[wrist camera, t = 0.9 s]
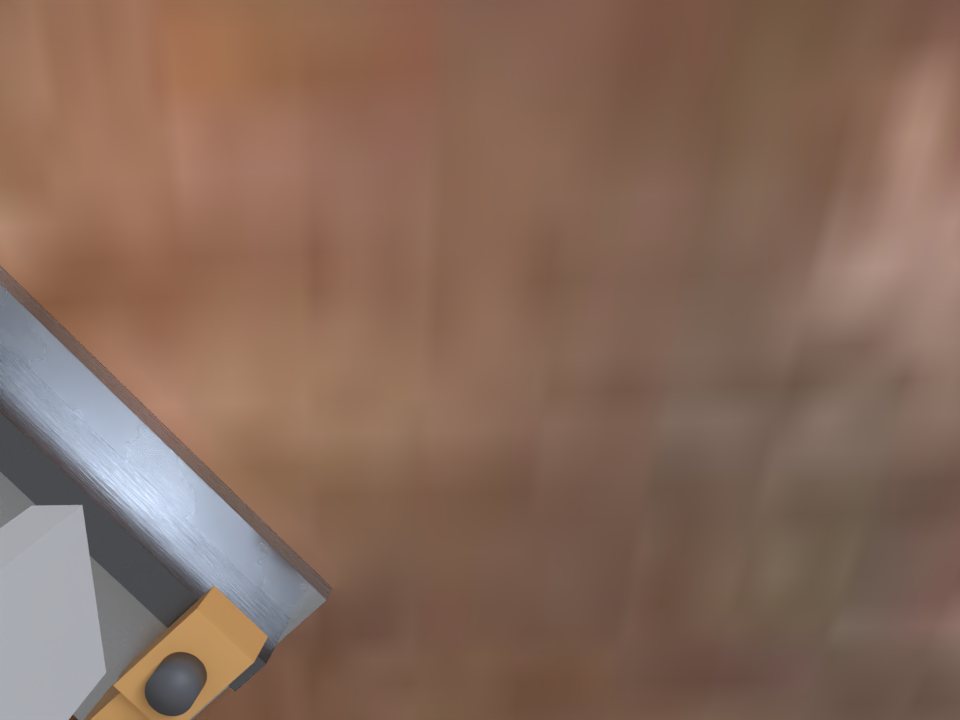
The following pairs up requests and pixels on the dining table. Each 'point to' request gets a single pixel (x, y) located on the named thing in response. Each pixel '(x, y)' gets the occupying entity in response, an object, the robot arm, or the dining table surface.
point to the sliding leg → (185, 664)
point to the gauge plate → (164, 474)
